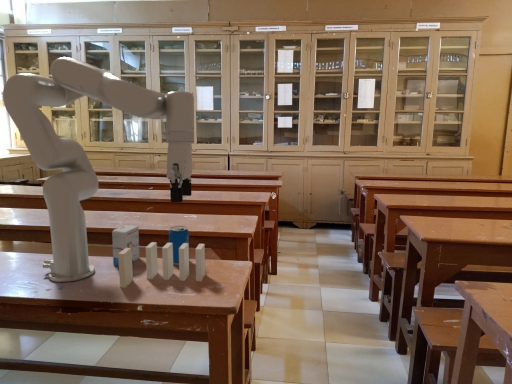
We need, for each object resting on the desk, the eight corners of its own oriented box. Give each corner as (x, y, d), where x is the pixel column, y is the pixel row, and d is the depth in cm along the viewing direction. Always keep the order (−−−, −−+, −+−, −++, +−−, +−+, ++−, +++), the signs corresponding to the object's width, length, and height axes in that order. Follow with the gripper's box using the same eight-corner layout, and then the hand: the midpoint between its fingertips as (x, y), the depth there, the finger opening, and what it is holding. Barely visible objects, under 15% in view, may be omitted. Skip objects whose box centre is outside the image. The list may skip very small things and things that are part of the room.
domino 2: (146, 279, 104) (145, 247, 103) (153, 272, 109) (151, 242, 108) (152, 279, 104) (150, 247, 103) (157, 272, 109) (156, 242, 107)
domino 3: (163, 279, 104) (162, 247, 102) (168, 273, 109) (167, 242, 107) (168, 280, 104) (167, 248, 102) (173, 273, 109) (172, 242, 107)
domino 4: (179, 280, 104) (178, 248, 102) (184, 273, 109) (183, 243, 107) (184, 280, 104) (184, 248, 102) (189, 274, 108) (188, 243, 107)
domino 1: (120, 287, 99) (118, 253, 97) (127, 279, 104) (126, 247, 102) (125, 287, 99) (123, 253, 97) (132, 280, 104) (131, 248, 102)
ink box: (126, 266, 114) (124, 231, 112) (112, 265, 115) (110, 230, 113) (140, 257, 122) (138, 225, 120) (127, 256, 123) (125, 224, 121)
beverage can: (182, 266, 114) (181, 231, 112) (166, 264, 116) (164, 229, 114) (192, 260, 120) (192, 226, 118) (176, 257, 122) (175, 224, 120)
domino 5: (196, 281, 103) (195, 249, 102) (199, 274, 108) (199, 243, 107) (201, 281, 103) (200, 249, 102) (204, 274, 108) (204, 243, 106)
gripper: (176, 137, 105) (177, 193, 108) (156, 138, 88) (158, 204, 91) (200, 137, 104) (201, 193, 107) (185, 138, 87) (186, 205, 90)
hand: (181, 198), depth 99 cm, fingers open, 9 cm apart
